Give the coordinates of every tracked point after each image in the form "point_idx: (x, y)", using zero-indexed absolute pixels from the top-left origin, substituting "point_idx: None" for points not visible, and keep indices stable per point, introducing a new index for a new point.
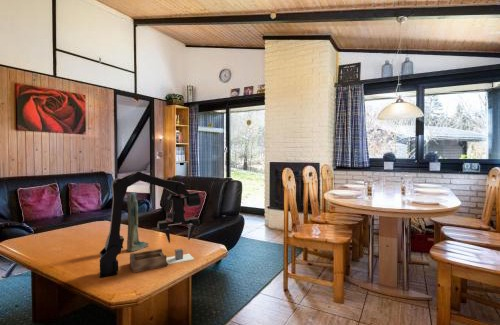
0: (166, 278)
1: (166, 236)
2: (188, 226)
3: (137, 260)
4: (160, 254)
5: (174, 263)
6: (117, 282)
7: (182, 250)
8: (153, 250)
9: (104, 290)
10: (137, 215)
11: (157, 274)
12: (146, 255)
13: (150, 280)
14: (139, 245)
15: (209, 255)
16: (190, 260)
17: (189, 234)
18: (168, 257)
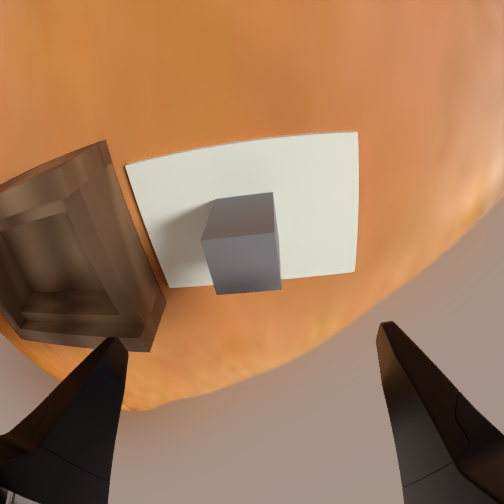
0: (187, 387)
1: (59, 392)
2: (467, 496)
3: (28, 333)
4: (89, 258)
5: (211, 281)
6: (45, 346)
7: (277, 289)
8: (17, 203)
9: (46, 366)
10: None
11: (144, 356)
12: (11, 224)
13: (135, 378)
14: None
15: (463, 229)
16: (325, 270)
17: (392, 426)
18: (157, 166)
